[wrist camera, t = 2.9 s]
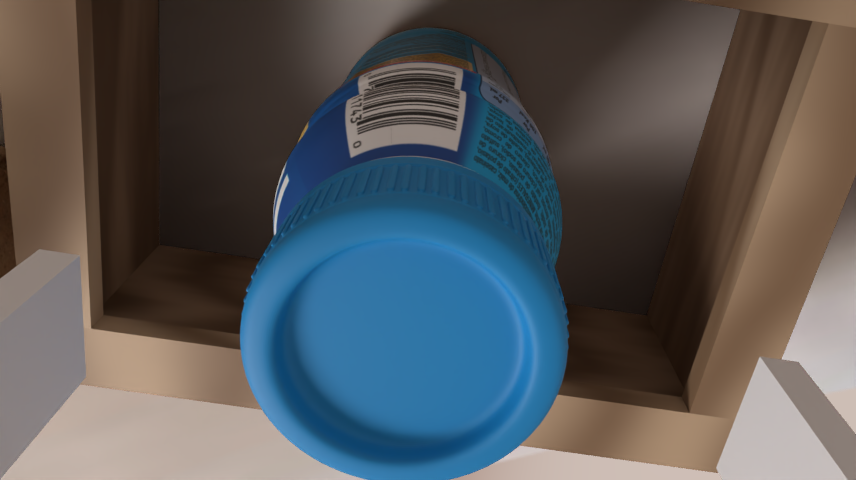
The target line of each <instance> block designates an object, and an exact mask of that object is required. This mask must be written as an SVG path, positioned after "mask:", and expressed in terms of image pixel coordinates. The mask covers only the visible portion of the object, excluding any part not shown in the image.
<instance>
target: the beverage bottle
mask: <svg viewBox="0 0 856 480" xmlns="http://www.w3.org/2000/svg"><path fill="white" fill-rule="evenodd" d="M273 232H274V237H273V238H272V240H271V242H270V244H269V245H268V247H267V249H266V250H265V252H264V254H263V256H262V257H261V259H260V261H259V262H258V264H257V266H256V269H255V271H254V272H253V274H252V276H251V278H252V280H251V282H250V284H249V285H248V287H247V289H246V291H247V292H248V293H247V294H246V296H245V298H244V307H243V311H242V313H241V315H242V318H241V326H240V348H241V356H242V362H243V367H244V370H245V374H246V377H247V380H248V383H249V385H250V388H251V390H252V392H253V394H254V396H255V398H256V400H257V402H258V404H259V405H260V407H261V408H262V410H263V412H264V413H265V414H266V416H267V417H268V418H269V420H270V421H271V422H272V423H273V425H274V426H275V427H276V428H277V429H278V430H279V431H280V432H281V433H282V434H283V435H284V436H285V437H286V438H287V439H288V440H289V441H290V442H292V443H293V444H294V445H295V446H296V447H298V448H299V449H300V450H302V451H303V452H305V453H306V454H308V455H309V456H311V457H312V458H314V459H316V460H318V461H319V462H321V463H323V464H325V465H327V466H329V467H331V468H334V469H336V470H338V471H341V472H344V473H346V474H349V475H352V476H356V477H359V478H363V479H367V480H450V479H454V478H458V477H461V476H464V475H467V474H470V473H473V472H475V471H478V470H480V469H483V468H485V467H487V466H489V465H491V464H493V463H495V462H496V461H498V460H500V459H501V458H503V457H505V456H506V455H508V454H509V453H510V452H512V451H513V450H514V449H516V448H517V447H518V446H519V445H521V444H522V443H523V442H524V441H525V440H526V439H527V438H528V437H529V436H530V435H531V434H532V433H533V432H534V431H535V430H536V428H537V427H538V426H539V425H540V424H541V422H542V421H543V420H544V418H545V417H546V415H547V414H548V412H549V410H550V409H551V407H552V405H553V403H554V401H555V399H556V397H557V395H558V392H559V390H560V387H561V384H562V381H563V377H564V373H565V368H566V362H567V353H568V348H569V346H568V338H569V332H568V329H567V325H568V324H569V321H568V318H567V315H566V313H567V309H566V306H565V303H564V297H563V294H562V291H561V287H560V284H559V281H558V278H557V274H556V271H555V265H556V262H557V258H558V254H559V250H560V244H561V237H562V209H561V201H560V196H559V191H558V187H557V184H556V181H555V178H554V175H553V171H552V166H551V162H550V158H549V154H548V151H547V148H546V146H545V143H544V141H543V138H542V136H541V134H540V132H539V130H538V128H537V127H536V125H535V123H534V122H533V120H532V119H531V117H530V116H529V114H528V113H527V112H526V110H525V109H524V108H523V106H522V104H521V101H520V99H519V95H518V92H517V89H516V87H515V84H514V82H513V80H512V78H511V76H510V74H509V73H508V71H507V69H506V68H505V66H504V65H503V64H502V62H501V61H500V60H499V59H498V58H497V57H496V56H495V55H494V54H493V53H492V52H491V51H490V50H489V49H488V48H486V47H485V46H484V45H482V44H481V43H479V42H478V41H476V40H474V39H473V38H471V37H469V36H466V35H464V34H461V33H459V32H455V31H452V30H447V29H441V28H417V29H411V30H407V31H403V32H400V33H397V34H394V35H392V36H390V37H388V38H386V39H384V40H382V41H381V42H379V43H378V44H376V45H375V46H373V47H372V48H371V49H370V50H369V51H367V52H366V53H365V54H364V55H363V56H362V57H361V59H360V60H359V61H358V62H357V63H356V65H355V66H354V68H353V69H352V70H351V72H350V74H349V75H348V77H347V79H346V80H345V82H344V83H343V84H342V86H341V87H340V88H338V89H337V90H336V91H335V92H333V93H332V94H331V95H330V96H329V97H328V98H327V99H326V100H325V101H324V102H323V103H322V104H321V105H320V106H319V108H318V109H317V110H316V111H315V113H314V114H313V115H312V117H311V118H310V120H309V121H308V123H307V125H306V126H305V128H304V130H303V132H302V134H301V136H300V138H299V140H298V143H297V145H296V146H295V148H294V149H293V151H292V152H291V154H290V156H289V158H288V160H287V162H286V164H285V166H284V168H283V171H282V173H281V176H280V179H279V182H278V186H277V190H276V195H275V201H274V209H273Z"/></svg>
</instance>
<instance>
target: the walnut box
mask: <svg viewBox="0 0 856 480" xmlns="http://www.w3.org/2000/svg"><path fill="white" fill-rule="evenodd" d="M684 1H691V2H697V3H703V4H710V5H716V6H722V7H728V8H735V9H741V10H740V13H739V17H738V20H737V23H736V26H735V30H734V33H733V36H732V39H731V43H730V46H729V49H728V52H727V56H726V59H725V62H724V65H723V69H722V72H721V75H720V78H719V82H718V85H717V88H716V91H715V95H714V98H713V101H712V104H711V108H710V111H709V114H708V117H707V121H706V124H705V127H704V130H703V134H702V137H701V140H700V143H699V147H698V150H697V153H696V156H695V160H694V163H693V166H692V169H691V173H690V176H689V179H688V182H687V186H686V189H685V192H684V195H683V199H682V202H681V205H680V208H679V212H678V215H677V218H676V221H675V225H674V228H673V231H672V234H671V238H670V241H669V244H668V247H667V251H666V254H665V257H664V260H663V264H662V267H661V270H660V273H659V277H658V280H657V283H656V286H655V290H654V293H653V296H652V299H651V303H650V306H649V309H648V312H647V315H640V314H633V313H626V312H619V311H612V310H605V309H598V308H591V307H585V306H578V305H571V304H565V306H566V309H567V313H566V315H567V318H568V321H569V324H568V325H567V329H568V332H569V338H568V346H569V348H568V353H567V362H566V368H565V373H564V377H563V381H562V384H561V387H560V390H559V392H558V395H557V397H556V399H555V401H554V403H553V405H552V407H551V409H550V410H549V412H548V414H547V415H546V417H545V418H544V420H543V421H542V422H541V424H540V425H539V426H538V427H537V428H536V430H535V431H534V432H533V433H532V434H531V435H530V436H529V437H528V438H527V439H526V440H525V441H524V442H523V443H522V444H521V446H528V447H535V448H542V449H549V450H557V451H564V452H571V453H578V454H586V455H593V456H600V457H607V458H614V459H622V460H629V461H636V462H644V463H651V464H657V465H665V466H672V467H679V468H686V469H693V470H701V471H708V472H716V473H718V471H717V469H716V467H717V464H718V462H719V459H720V457H721V454H722V452H723V449H724V446H725V444H726V441H727V439H728V436H729V434H730V431H731V429H732V426H733V423H734V421H735V418H736V416H737V413H738V411H739V408H740V406H741V403H742V400H743V398H744V395H745V393H746V390H747V388H748V385H749V383H750V380H751V377H752V375H753V372H754V370H755V367H756V365H757V362H758V360H759V357H760V356H761V357H767V358H774V359H782V356H783V354H784V351H785V349H786V346H787V344H788V342H789V339H790V337H791V334H792V332H793V329H794V327H795V324H796V322H797V319H798V317H799V314H800V312H801V309H802V307H803V304H804V302H805V300H806V297H807V295H808V292H809V290H810V287H811V285H812V282H813V280H814V277H815V275H816V272H817V270H818V267H819V265H820V263H821V260H822V258H823V255H824V253H825V250H826V248H827V245H828V243H829V240H830V238H831V235H832V233H833V230H834V228H835V226H836V223H837V221H838V218H839V216H840V213H841V211H842V208H843V206H844V203H845V201H846V198H847V196H848V193H849V191H850V189H851V186H852V184H853V181H854V179H855V176H856V0H684ZM0 95H1V106H2V116H3V127H4V138H5V149H6V160H7V171H8V182H9V193H10V204H11V215H12V226H13V237H14V248H15V259H16V266H18V265H19V264H20V263H22V262H23V261H24V260H26V259H27V258H28V257H30V256H31V255H32V254H34V253H35V252H36V251H38V250H39V249H41V250H48V251H55V252H61V253H68V254H75V255H80V268H81V287H82V306H83V325H84V344H85V364H86V377H85V379H84V380H83V381H82V382H81V383H80V384H81V385H88V386H95V387H103V388H110V389H117V390H124V391H131V392H139V393H146V394H153V395H160V396H168V397H175V398H182V399H189V400H196V401H204V402H211V403H218V404H225V405H232V406H240V407H247V408H254V409H261V410H262V408H261V407H260V405H259V404H258V402H257V400H256V398H255V396H254V394H253V392H252V390H251V388H250V385H249V383H248V380H247V377H246V374H245V370H244V367H243V362H242V356H241V348H240V326H241V318H242V315H241V313H242V311H243V307H244V298H245V296H246V294H247V293H248V292H247V291H246V289H247V287H248V285H249V284H250V282H251V280H252V278H251V276H252V274H253V272H254V271H255V269H256V266H257V264H258V262H259V261H260V259H254V258H247V257H240V256H233V255H227V254H220V253H213V252H206V251H199V250H192V249H185V248H178V247H172V246H165V245H159V0H0Z"/></svg>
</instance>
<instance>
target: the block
mask: <svg viewBox="0 0 856 480" xmlns="http://www.w3.org/2000/svg"><path fill="white" fill-rule="evenodd" d="M15 267H16V259H15V248H14V237H13V226H12V215H11V204H10V193H9V182H8V171H7V160H6V149H5V147H4V146H1V145H0V278H2V277H3V276H4V275H6V274H7V273H8V272H10V271H11V270H12V269H14V268H15Z"/></svg>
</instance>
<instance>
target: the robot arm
mask: <svg viewBox="0 0 856 480" xmlns="http://www.w3.org/2000/svg"><path fill="white" fill-rule="evenodd" d="M85 377H86V364H85V344H84V325H83V306H82V287H81V268H80V255H75V254H68V253H61V252H55V251H48V250H41V249H39V250H38V251H36V252H35V253H34V254H32V255H31V256H30V257H28V258H27V259H26V260H24V261H23V262H22V263H20V264H19V265H18V266H16V267H15V268H14V269H12V270H11V271H10V272H8V273H7V274H6V275H4V276H3V277H2V278H0V479H1V478H2V476H3V475H4V474H5V473H6V472H7V470H8V469H9V468H10V467H11V466H12V464H13V463H14V462H15V461H16V460H17V459H18V457H19V456H20V455H21V454H22V453H23V451H24V450H25V449H26V448H27V447H28V445H29V444H30V443H31V442H32V441H33V439H34V438H35V437H36V436H37V435H38V433H39V432H40V431H41V430H42V429H43V428H44V426H45V425H46V424H47V423H48V422H49V420H50V419H51V418H52V417H53V416H54V414H55V413H56V412H57V411H58V410H59V408H60V407H61V406H62V405H63V404H64V402H65V401H66V400H67V399H68V398H69V397H70V395H71V394H72V393H73V392H74V391H75V389H76V388H77V387H78V386H79V385H80V383H81V382H82V381H83V380H84V379H85ZM716 469H717V471H718V473H719V475H720V477H721V479H722V480H856V434H855V433H854V431H853V430H852V429H851V428H850V427H849V425H848V424H847V423H846V421H845V420H844V419H843V418H842V416H841V415H840V414H839V413H838V411H837V410H836V409H835V408H834V406H833V405H832V404H831V402H830V401H829V400H828V399H827V397H826V396H825V395H824V394H823V392H822V391H821V390H820V389H819V387H818V386H817V385H816V384H815V382H814V381H813V380H812V378H811V377H810V376H809V375H808V373H807V372H806V371H805V370H804V368H803V367H802V366H801V365H800V363H799V362H794V361H788V360H781V359H774V358H767V357H761V356H760V357H759V360H758V362H757V365H756V367H755V370H754V372H753V375H752V377H751V380H750V383H749V385H748V388H747V390H746V393H745V395H744V398H743V400H742V403H741V406H740V408H739V411H738V413H737V416H736V418H735V421H734V423H733V426H732V429H731V431H730V434H729V436H728V439H727V441H726V444H725V446H724V449H723V452H722V454H721V457H720V459H719V462H718V464H717V467H716Z"/></svg>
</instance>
